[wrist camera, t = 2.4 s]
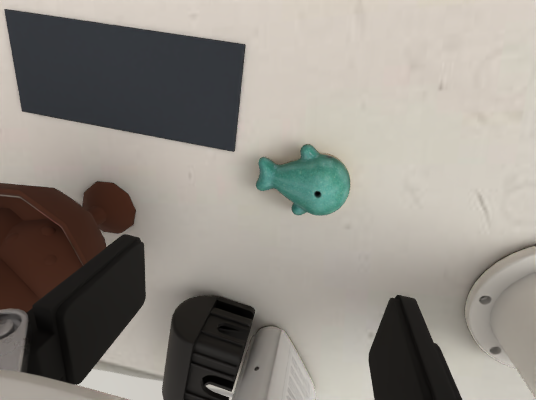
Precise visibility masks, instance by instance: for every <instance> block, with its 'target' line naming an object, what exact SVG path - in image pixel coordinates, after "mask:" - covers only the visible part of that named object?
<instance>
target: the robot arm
mask: <svg viewBox="0 0 536 400" xmlns="http://www.w3.org/2000/svg"><path fill="white" fill-rule="evenodd" d="M145 297H146V292H145V259H144V243H143V242H141V240H140V238H138V237H134V236H130V235H122V236H121V237H119V238H118V239H117V240H115V241H114V242H113V243H112V244H110V245H109V246H108V247H106V248H105V249H104V250H103V251H101V252H100V253H99V254H97V255H96V256H95V257H94V258H92V259H91V260H90V261H88V262H87V263H86V264H85V265H83V266H82V267H81V268H79V269H78V270H77V271H76V272H74V273H73V274H72V275H70V276H69V277H68V278H67V279H65V280H64V281H63V282H61V283H60V284H59V285H58V286H56V287H55V288H54V289H52V290H51V291H50V292H49V293H47V294H46V295H45V296H44V297H42V298H41V299H40V300H38V301H37V302H36V303H35V304H33V305H32V307H33V308H32V309H30V310H29V311H28V312H27V313H26V312H25V311H23V310H20V309H11V308H10V309H2V310H0V400H129V399H125V398H121V397H118V396H114V395H111V394H107V393H104V392H100V391H96V390H92V389H89V388H85V387H81V386H78V385H77V384H79V383H81V382H82V381H83V380H84V378H85V377H86V376H87V375H88V373H89V372H90V371H91V370H92V368H93V367H94V366H95V365H96V363H97V362H98V361H99V360H100V358H101V357H102V356H103V355H104V353H105V352H106V351H107V350H108V348H109V347H110V346H111V345H112V343H113V342H114V341H115V340H116V338H117V337H118V336H119V335H120V333H121V332H122V331H123V330H124V328H125V327H126V326H127V325H128V323H129V322H130V321H131V319H132V318H133V317H134V316H135V314H136V313H137V312H138V311H139V309H140V308H141V307H142V306H143V304H144V301H145ZM465 318H466V323H467V327H468V328H469V330H470V332H471V334H472V336H473V338H474V340H475V341H476V343H477V344H478V345H479V347H480V348H481V349H482V350H483V351H484V352H485V353H486V354H487V355H489V356H490V357H492V358H493V359H495V360H496V361H498V362H500V363H502V364H504V365H507V366H509V367H512V368H515V369H517V371H518V372H519V374H520V376H521V377H522V379H523V380H524V382H525V383H526V385H527V386H528V388H529V389H530V391H531V393H532V394H533V396H534V397H535V399H536V246H533V247H529V248H526V249H523V250H521V251H518V252H516V253H513V254H511V255H509V256H507V257H505V258H504V259H502V260H500V261H498V262H497V263H495V264H494V265H493V266H492V267H490V268H489V269H488V270H486V271H485V272H484V273H483V274H482V275H481V277H480V278H479V279H478V280H477V281H476V282H475V284H474V286H473V287H472V289H471V291H470V292H469V295H468V298H467V301H466V304H465ZM369 366H370V373H371V379H372V386H373V392H374V398H375V400H462V398H461V396H460V393H459V391H458V389H457V386H456V384H455V382H454V379H453V377H452V375H451V372H450V370H449V368H448V365H447V363H446V361H445V358H444V356H443V354H442V351H441V349H440V347H439V346H438V345H437V344H436V343H434V342H433V340H432V338H431V335H430V333H429V330H428V328H427V325H426V323H425V321H424V318H423V316H422V313H421V311H420V309H419V306H418V304H417V301H416V300H415V299H414V298H410V297H405V296H401V295H397V296H396V297H395V298H390V300H389V302H388V305H387V307H386V310H385V312H384V315H383V318H382V320H381V323H380V325H379V328H378V331H377V333H376V336H375V339H374V341H373V344H372V346H371V349H370V352H369ZM75 384H76V385H75Z"/></svg>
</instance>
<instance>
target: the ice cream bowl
mask: <svg viewBox="0 0 536 400" xmlns="http://www.w3.org/2000/svg"><path fill="white" fill-rule="evenodd" d="M135 212H136V210H135V207H134V205H133V203H132V201H131V199H130V197H129V195H128V193H126V192H125V191H124V190H122V189H121V188H120V187H118V186H117V185H116V184H114V183H110V182H98V181H97V182H96V183H95V184H93V185H92V186H91V187H90V188H89V189H87V190H86V191H85V192H84V197H83V207H82V206H81V205H79V204H78V203H76V202H75V201H74V200H72V199H71V198H70V197H68V196H67V195H65V194H64V193H62V192H60V191H59V190H57V189H55V188H49V187H38V186H27V185H16V184H5V183H0V310H2V309H10V308H11V309H20V310H23V311H25V312H26V313H27V312H28V311H29V310H30V309H32V308H33V307H32V305H33V304H35V303H36V302H37V301H38V300H40V299H41V298H42V297H44V296H45V295H46V294H47V293H49V292H50V291H51V290H52V289H54V288H55V287H56V286H58V285H59V284H60V283H61V282H63V281H64V280H65V279H67V278H68V277H69V276H70V275H72V274H73V273H74V272H76V271H77V270H78V269H79V268H81V267H82V266H83V265H85V264H86V263H87V262H88V261H90V260H91V259H92V258H94V257H95V256H96V255H97V254H99V253H100V252H101V251H103V250H104V249H105V248H106V243H105V239H104V237H103V235H102V233H101V231H100V229H101V230H102V231H103V232H110V233H122V232H124V231H125V230H126V229H128V228H129V227H131V226H132V225H133V224H134V218H135Z"/></svg>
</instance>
